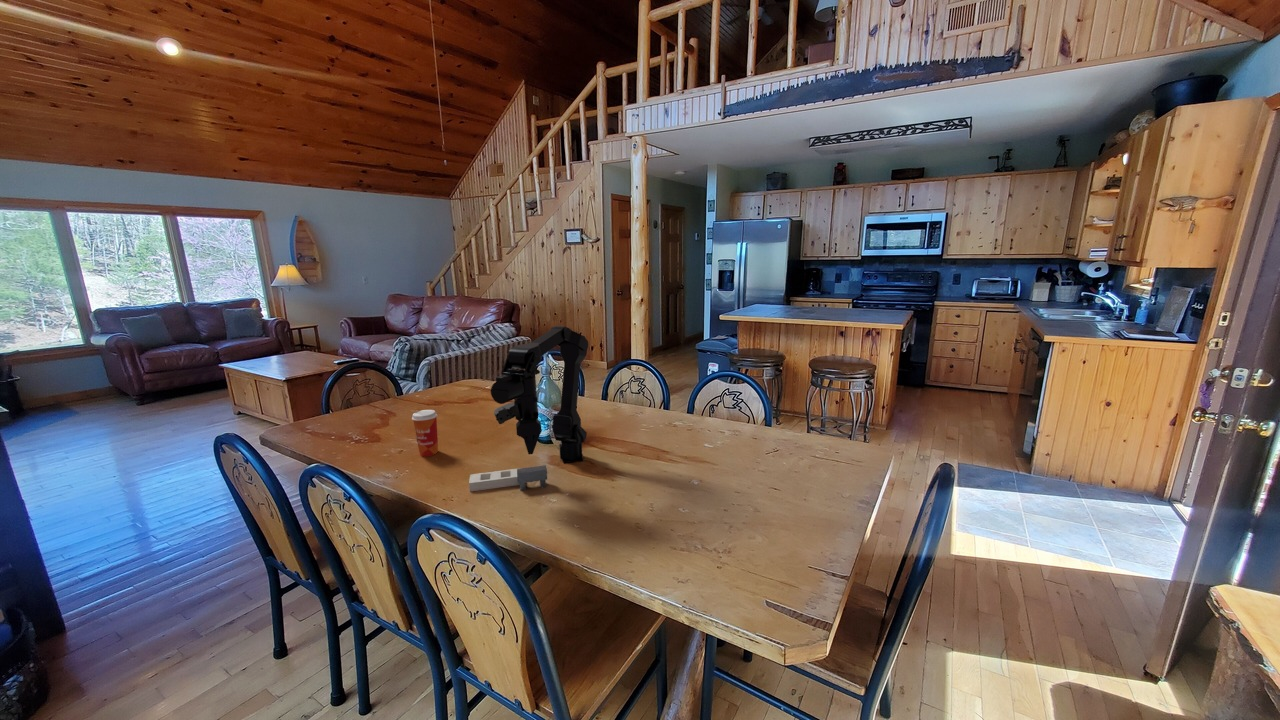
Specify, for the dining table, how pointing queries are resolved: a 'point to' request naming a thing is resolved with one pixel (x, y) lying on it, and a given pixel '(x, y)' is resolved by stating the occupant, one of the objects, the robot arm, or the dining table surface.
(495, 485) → the rail
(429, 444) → the paper cup
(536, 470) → the dark grey blocky piece
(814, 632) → the dining table surface
